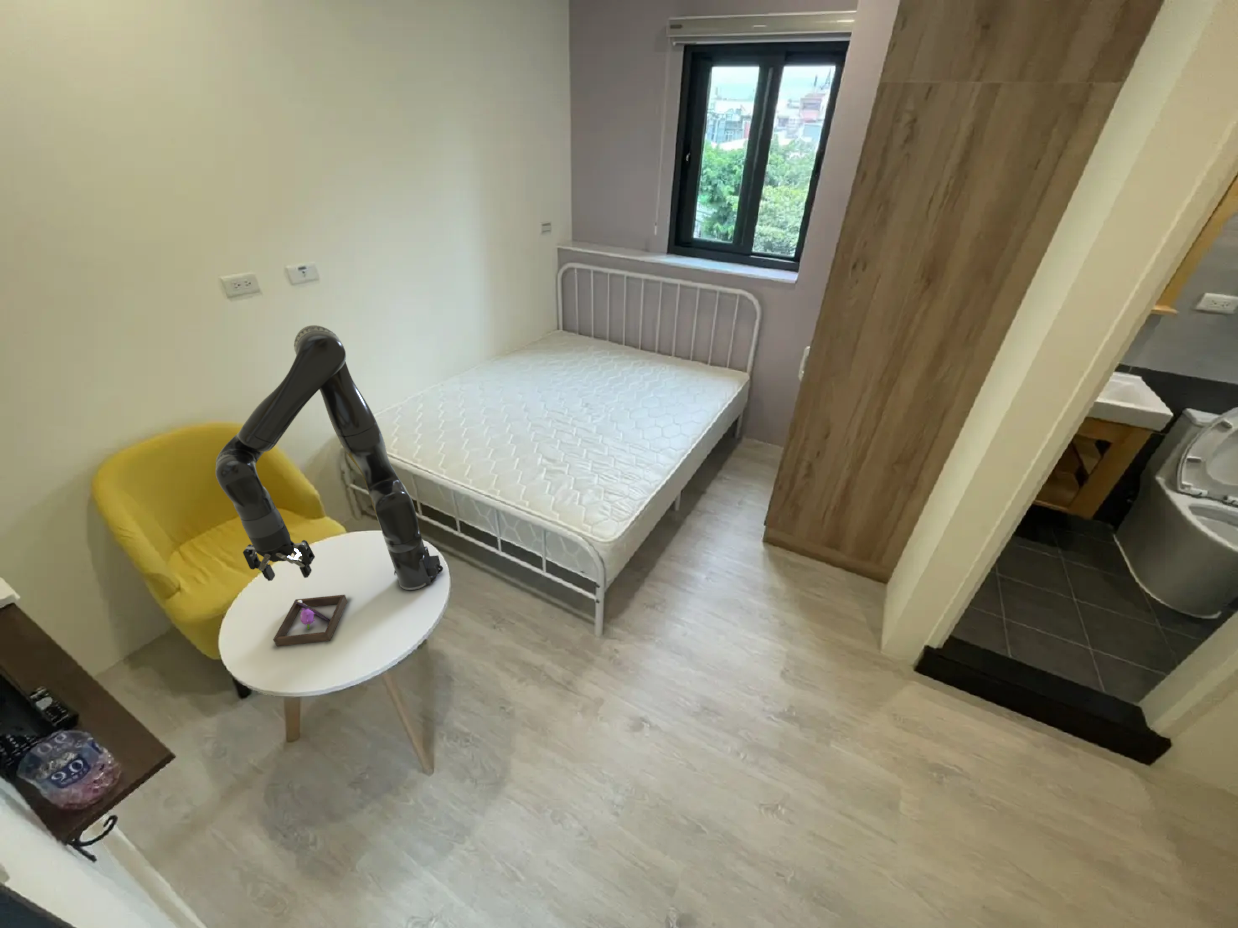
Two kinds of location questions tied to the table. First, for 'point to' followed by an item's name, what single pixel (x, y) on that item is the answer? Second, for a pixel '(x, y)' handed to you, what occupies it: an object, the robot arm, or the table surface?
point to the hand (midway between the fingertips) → (290, 576)
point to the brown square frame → (312, 637)
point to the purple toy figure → (308, 614)
